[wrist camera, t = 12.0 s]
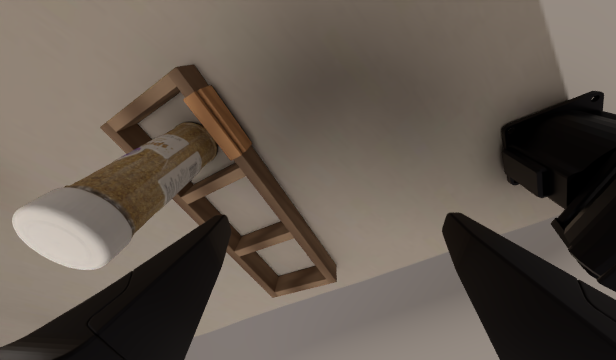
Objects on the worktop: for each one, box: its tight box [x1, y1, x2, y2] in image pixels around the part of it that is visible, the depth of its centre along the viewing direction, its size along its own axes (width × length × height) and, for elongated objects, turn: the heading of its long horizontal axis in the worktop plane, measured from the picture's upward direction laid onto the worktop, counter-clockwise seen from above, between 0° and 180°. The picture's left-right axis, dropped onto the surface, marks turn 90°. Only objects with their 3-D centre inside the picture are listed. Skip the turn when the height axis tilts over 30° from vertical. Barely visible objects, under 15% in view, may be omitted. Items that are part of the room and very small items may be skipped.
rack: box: [100, 65, 337, 298], centre depth 25 cm, size 10×28×3 cm, turn 29°
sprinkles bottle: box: [12, 122, 217, 270], centre depth 17 cm, size 5×5×14 cm
